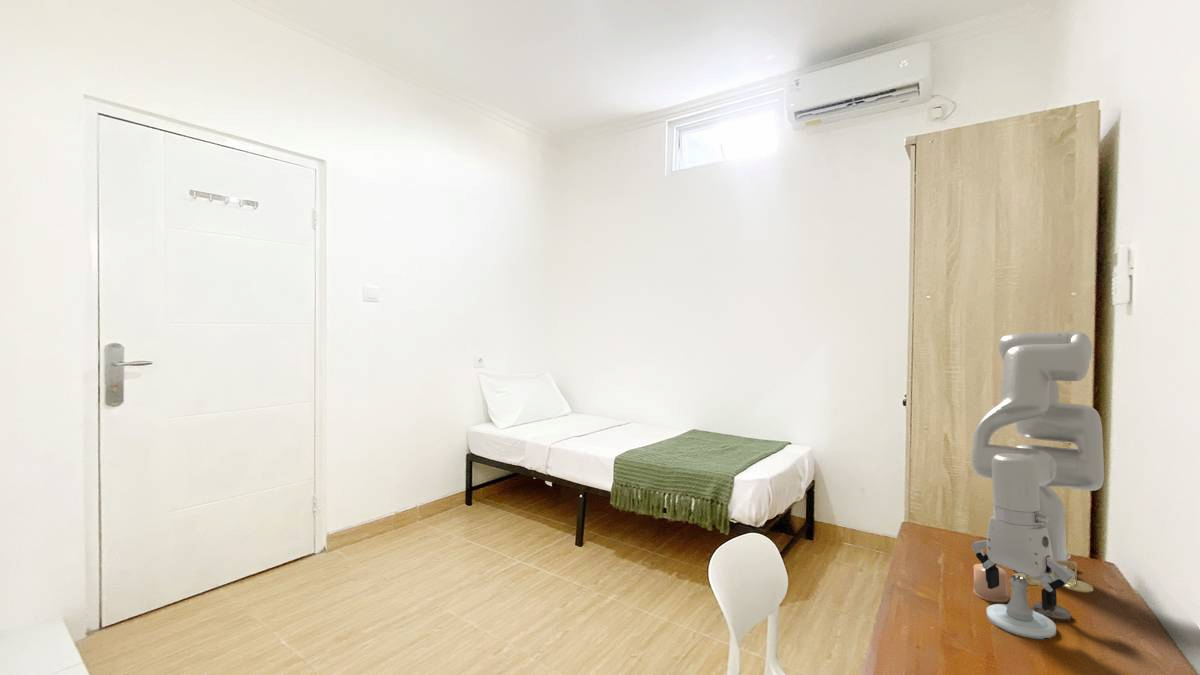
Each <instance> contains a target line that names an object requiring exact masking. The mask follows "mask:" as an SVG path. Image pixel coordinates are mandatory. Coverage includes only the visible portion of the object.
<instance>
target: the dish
mask: <svg viewBox="0 0 1200 675" xmlns="http://www.w3.org/2000/svg"><path fill="white" fill-rule="evenodd" d="M1007 604H1008V603H1006V604H1005V603H996V604H991V605H989V606H988V607H986V617H987V620H989V622H990V623H991V624H993V625H994V626H996V627H998V628H1000V629H1002V630H1003V631H1005V632H1008V633H1011V634H1013V635H1016V636H1020V637H1024V638H1029V639H1036V640H1045V639H1044V638H1049V639H1051V638H1050V637H1053V636H1054V635H1055V634H1056V635H1057V625H1056V623H1055V622H1054V620H1051V619H1049V618H1048V617H1046V616H1044V615H1042V614H1040V613H1038V612H1036V611H1034V610H1033V609H1031V610H1032V611H1033V615H1032V616H1033V617H1034V619H1033V620H1032V621H1028V622H1025V621H1020V620H1016V619H1014V618H1012V617H1010V616H1009V615H1008V613H1007V612H1006V610H1007V608H1006V606H1007ZM1056 635H1055V636H1056ZM1055 636H1054V637H1055ZM1054 637H1053V638H1054Z"/></svg>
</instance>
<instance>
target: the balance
mask: <svg viewBox="0 0 1200 675" xmlns="http://www.w3.org/2000/svg"><path fill="white" fill-rule="evenodd" d="M1054 561H1056V562H1057V563H1059V564H1060V565H1064V566H1067V567H1074V568H1073V569H1074V572H1075V580H1074V579H1070V580H1069V581H1068V582H1067V584H1066V585H1064V586H1062V587H1063V588H1065V589H1067V590H1071V591H1074V592H1079V593H1087V594H1088V593H1092V592H1093V591H1094V587H1093V586H1092V584H1089V583H1087V582H1085V581H1082V580H1080V579H1079V580H1078V577H1077V576H1078V575H1077V573H1078V572H1077V566H1078V564H1077V561H1069V560H1067V561H1060V560H1054ZM1050 574H1051V576H1052V577H1053V578H1054V572H1053V573H1050ZM1012 575H1015V576H1016V577H1018V575H1019V576H1021V578H1022V577H1024V578H1025V579H1026V581H1027V583H1028V584H1029V586H1031V587H1039V586H1043V585H1042V584H1041V583H1040V582H1039V580H1038V579H1037V578H1036V577H1032V576H1029V575H1026V574H1022V573H1018V572H1015V573H1012ZM1012 575H1011V576H1012ZM1032 610H1033V611H1036V612H1038V613H1040V614H1042V615H1044V616H1046V617H1048V618H1050V620H1051V619H1054V620H1053V621H1055V620H1058V621H1057V622H1069V620H1070V621H1071V620H1072V614H1071V611H1070V610H1068V609H1067V608H1065V607H1063V606H1061V605H1059V604H1056V606H1055V607H1053V608H1051V609H1049V610H1044V609H1043V608H1042V601H1035V602H1033V604H1032Z"/></svg>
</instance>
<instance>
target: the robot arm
mask: <svg viewBox="0 0 1200 675" xmlns="http://www.w3.org/2000/svg"><path fill="white" fill-rule="evenodd" d="M998 350H999V354H1000V357H1001V359H1002V362H1003V367H1002V369H1003V370H1002V382H1001V393H1000V394H1001V397H1000V402H999V403H998V404H997V405H996V406H995V407H993V408H992V409H991V410H989V411H988V412H987V413H986V414H984V416H983V417H982V418H981V419H980V420H979V422H978V423H977V425H976V426H975V428H974V432H973V440H972V449H971V450H972V451H971V465H972V468H973V470H974V472H975V473H976V474H977V475H979V476H981V477H983V478H988V479H991V482H992V486H991V487H992V502H993V503H992V504H993V505H992V506H993V507H992V508H993V515H991V516H990V518H989V523H988V527H987V535H986V540H979V541H974V542H971V543H970V544H971V548H972V549H973V552H974V553H975V557H976V559H978V561H979V562H980V564H982V566H983V568H985V570H986V581H987V585H988V588H990V589H993V588H995V587H998V586H999V569H998V567H1002V568H1005V569H1009V570H1012V571H1013V572H1015V573H1022V574H1026V575H1029V576H1032V577H1036V578H1037V579H1038V580H1039V582H1040V583H1041V584H1042V585H1041V586H1042V587H1043V588H1042V589H1041V602H1042V608H1043V609H1044V610H1049V609H1051V608H1053V607H1055V606H1056V605H1058V604H1057V603H1058V602H1057V601H1058V600H1057V589H1060V588H1061V587H1063V586H1064V585H1066V584H1067V582H1068V581H1069V580H1070V579H1074V580H1075V570H1074V571H1073V569H1072V568H1069V566H1064V565H1060V564H1059V563H1057V562H1056V561H1054V560H1060V561H1068V560H1069V559H1071V557H1072V555H1071V553H1070V552H1069V551H1067V539H1066V538H1067V537H1066V517H1065V516H1066V514H1065V505H1064V501H1063V499H1061V497H1060V496H1059V495H1058V493H1056V492H1055V490H1054V489H1053V488H1052V487H1056V488H1057V487H1058V488H1066V489H1072V490H1080V491H1090V492H1091V491H1092V492H1093V491H1097V490H1101V488H1102V487H1103V485H1104V482H1105V481H1104V480H1105V461H1104V460H1105V459H1104V440H1103V438H1104V437H1103V435H1104V434H1103V425H1102V424H1103V423H1102V419H1101V416H1100V414H1099V412H1098V410H1096V409H1095V408H1094V407H1092V406H1090V405H1087V404H1080V403H1079V404H1078V403H1063V402H1062V403H1061V402H1060V399H1059V397H1060V396H1059V393H1060V391H1059V390H1060V389H1059V387H1060V386H1059V383H1058V381H1061V382H1062V381H1063V382H1079V381H1081V380H1082V381H1083V379H1085V378H1086V376H1087V374H1088V372H1089V368H1090V363H1091V359H1092V354H1093V344H1092V341H1091V339H1090V338H1089V336H1088V335H1087V334H1085V333H1084V332H1080V331H1052V332H1051V331H1049V332H1047V331H1045V332H1043V331H1042V332H1038V331H1037V332H1017V333H1011V334H1007V335H1004V336H1002V337H1001V338H1000V339H999V341H998ZM1012 424H1015V427H1016V431H1017V433H1018V434H1019V435H1020V436H1022V437H1024V438H1027V439H1032V440H1037V441H1045V442H1046V441H1048V442H1059V443H1070V444H1073V445H1075V446H1076V447H1077V448H1069V447H1068V448H1066V447H1057V446H1048V445H1039V444H1019V445H1016V446H1011V445H1010V446H1009V445H1007V446H1006V445H1001V444H990V441H991V438H992V436H993V435H994V434H995V433H996V432H998V431H999V430H1000V429H1002V428H1004V427H1006V426H1009V425H1012ZM984 548H986V552H984ZM996 566H997V567H996ZM1053 572H1054V578H1053V577H1052V576H1051V574H1050V573H1053Z"/></svg>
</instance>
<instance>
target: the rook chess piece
mask: <svg viewBox="0 0 1200 675" xmlns="http://www.w3.org/2000/svg"><path fill="white" fill-rule="evenodd" d="M1007 582H1009V583H1010V585H1011V586H1010V587H1009V588H1010V590H1011V591H1010V592H1011V594H1010V599H1009V600H1008V602H1007V603H1006V604H1007V606H1006V608H1007V610H1006V612H1007V613H1008V615H1009V616H1010V617H1012V618H1014V619H1016V620H1020V621H1025V622H1028V621H1032V620H1033V619H1034V617H1033V616H1032V615H1033V611H1034V610H1033V609H1032V608H1031V606H1030V605H1029V601H1028V597H1027V596H1028V590H1027V587H1029V586H1030V585H1029V584H1028V583H1027V581H1026V579H1025V578H1024V577H1022V578H1021V576H1019V575H1018V577H1016V576H1015V575H1010V578H1009V579H1008V580H1007ZM1032 610H1033V611H1032Z"/></svg>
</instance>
